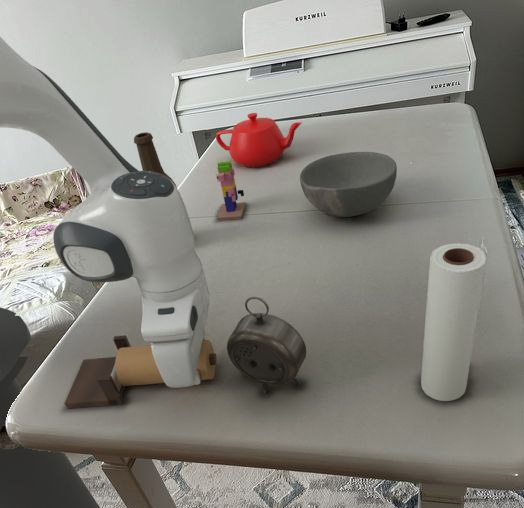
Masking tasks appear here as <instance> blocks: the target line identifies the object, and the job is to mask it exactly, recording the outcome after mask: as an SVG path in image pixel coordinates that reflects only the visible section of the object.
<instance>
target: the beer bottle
mask: <svg viewBox="0 0 524 508" xmlns="http://www.w3.org/2000/svg"><path fill="white" fill-rule="evenodd" d="M153 139H154V137H153V135H152V133H150V132H148V131H147V132H140V133H138V134H137V133H136V134H135V136H134V137H133V144H135V145H136V149H137V152H138V157H139V161H140V164H141V169H142V170H141V171H152V172H156V173H159V174H162V175H164V176H166V177H168V178H169V179H170V180H171V181H172V182H173V184H174V185H175V186H176V188H177V189H178V187H177V184H176V183H175V182H174V180H173V178H171V176H169V175H168V174H167V173H166V172H165V170H164V168H163V166H162V164H161V161H160V158H159V156H158V152H157V150H156V147H155V144H154V141H153Z"/></svg>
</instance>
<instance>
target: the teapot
mask: <svg viewBox="0 0 524 508" xmlns="http://www.w3.org/2000/svg"><path fill="white" fill-rule="evenodd" d="M246 116H247V119H245V120H242V121H240V122H238V123H237V124H235V125H234V126H233V128H232V129H222V130H219V131H218V132H216V133H215V140H216V142H217V144H218V145H219V146H220V147H221V148H222V149H223V150H224V151H228V152H229V155H230V157H231V159H232V160H233V161H234V162H235V163H236V164H238V165H240V166H243V167H246V168H261V167H266V166H269V165H271V164H273V163H275V162H276V161H277V160H278V159H279V158H280V157H282V156H283V153H284V151H285V150H286V149H288V148H291V146H292V143H293V141H294V137H295V133H296V130H297V129H298V128H299V127H300V126H301V124H303V122H301V121H299V122H298V121H297V122H294V123H292V124H290V127H289V128H288V129H289V130H288V133H287V135H286V137H284V134H283V133H282V131H281V129H280V128H279V125H278V124H277V123H276V121H275V120H274V119H272V118H271V117H258V113H257V112H251V113H248V114H247V115H246ZM226 134H227V135H228V134H231V137H230V141H229V145H227V144H226V143H225V142H224V141H223V139H222V137H221V135H226Z"/></svg>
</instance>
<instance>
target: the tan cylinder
mask: <svg viewBox="0 0 524 508" xmlns="http://www.w3.org/2000/svg"><path fill="white" fill-rule="evenodd" d="M115 357H116V360H115V365H114V368H113V370H112V373H111V376H112V378H113V380H114V382H116V379H117V377H118V380H119V382H120V383H121V385H123V386H125V387H129V386H131V387H132V386H141V385H154V384H155V385H156V384H165V382H164V380H163V378H162V376H161V374H160V372H159V369H158V367H157V365H156V362H155V360H154V357H153V354H152V350H151V344H148V345H138V346H137V345H136V346H131V347H124V348H120V349H119V350H118V349H117V352H116V355H115ZM217 362H218V356H217V354H216V353H215V352H214V346H213V343H212V341H211V340H209V339H206V340H203V341H202V345H201V351H200V356H199V361H198V366H197V369H199V370H200V373H201V381H204V380H213V379H214V377H215V373H216V365H217Z"/></svg>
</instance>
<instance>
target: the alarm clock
mask: <svg viewBox="0 0 524 508" xmlns="http://www.w3.org/2000/svg"><path fill="white" fill-rule="evenodd" d="M251 300H258V301H259V302H262V304H264V306H265V308H266V312H265V313H264V312H254V313H253V312H252V311H251V310H250V309H249V307H248V303H249V301H251ZM244 307H245V310H246V311H247V313H248V314H246V315H244V316H243V317H242V318H240V319H239V321H238V323H237V325H236V326H235V328H234V329H233V331H232V333H231V334H230V336H228V339H227V343H226V351H227V356H228V358H229V359H230V362H231V363H232V364H233V366H234V367H235V368H236V369H237V370H238V371H239V373H241V374H242V375H244V376H245V377H246V378H248V379H249V380H251V381H253V382H256V383H258V384H260V385H261V387H262V390H261V391H262V394H264V395H266V394H267V392H268V386H271V387H277V386H279V387H280V386H284V385H288V384H289V383H291V382H292V381H294V382H295V383H296V385H297V386H301V385H302V381H300V379H299V378H298V374H299V372H300V370H301V367H302V365H303V364H304V362H305V360H306V357H307V345H306V342H305V340H304V339H303V336H302V335H301V334H300V333H299V331H298V330H297V329H296V328H295V327H294V326H293V325H291V324H290V323H289V322H288V321H286V320H284V319H282V318H280V317H278V316H276V315H273V314H269V310H270V306H269V304H268V303H267V302H266V301H265V300H264V299H263V298H261V297H258V296H250V297H248V298H246V300H245V302H244Z"/></svg>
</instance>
